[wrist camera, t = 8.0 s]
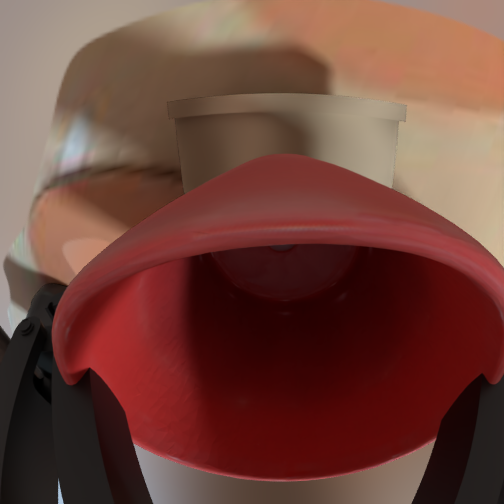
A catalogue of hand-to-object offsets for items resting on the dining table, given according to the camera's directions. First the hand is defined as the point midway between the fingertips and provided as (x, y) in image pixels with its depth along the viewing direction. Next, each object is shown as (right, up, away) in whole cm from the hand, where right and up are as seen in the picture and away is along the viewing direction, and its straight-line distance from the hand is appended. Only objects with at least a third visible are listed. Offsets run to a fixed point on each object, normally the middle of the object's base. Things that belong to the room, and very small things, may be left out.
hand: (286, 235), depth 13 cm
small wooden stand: (+1, +5, +8) cm, 10 cm away
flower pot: (0, 0, 0) cm, 1 cm away
